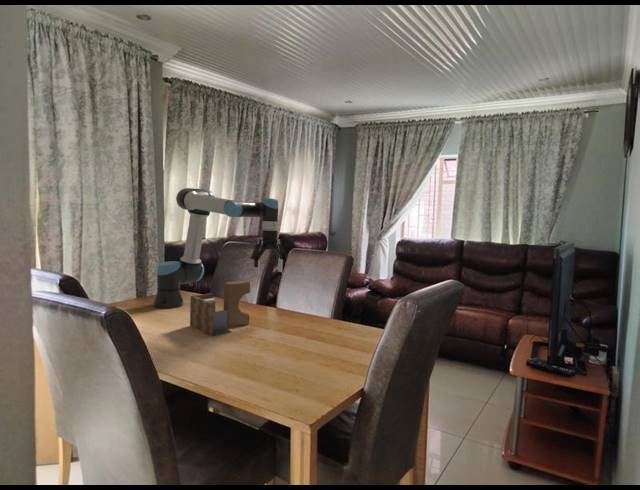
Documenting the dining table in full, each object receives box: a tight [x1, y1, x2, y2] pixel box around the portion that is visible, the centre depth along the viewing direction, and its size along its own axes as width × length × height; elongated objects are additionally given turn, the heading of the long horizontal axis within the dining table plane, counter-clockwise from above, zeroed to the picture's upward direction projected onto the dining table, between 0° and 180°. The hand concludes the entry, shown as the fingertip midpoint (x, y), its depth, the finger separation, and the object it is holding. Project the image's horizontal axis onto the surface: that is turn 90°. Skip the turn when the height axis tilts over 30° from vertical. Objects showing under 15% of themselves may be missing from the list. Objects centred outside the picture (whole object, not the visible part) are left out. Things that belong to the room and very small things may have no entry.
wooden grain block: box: [189, 292, 214, 337], centre depth 185 cm, size 18×10×14 cm, turn 43°
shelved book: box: [203, 297, 216, 312], centre depth 190 cm, size 3×8×12 cm, turn 133°
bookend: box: [212, 309, 232, 337], centre depth 180 cm, size 5×9×9 cm, turn 133°
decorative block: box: [223, 280, 251, 328], centre depth 193 cm, size 11×6×20 cm, turn 122°
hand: (269, 272), depth 204 cm, fingers open, 13 cm apart
